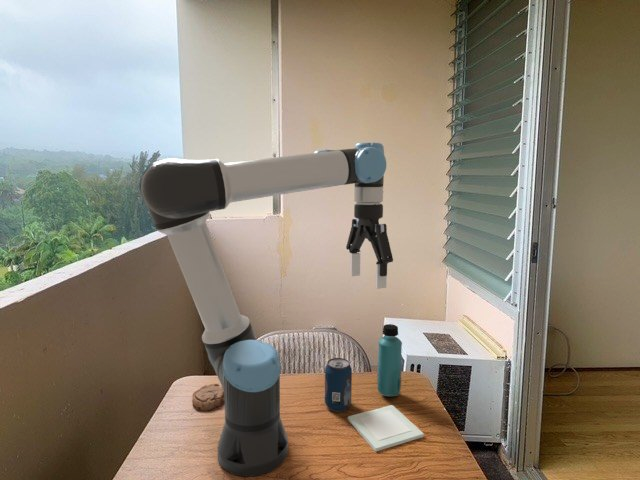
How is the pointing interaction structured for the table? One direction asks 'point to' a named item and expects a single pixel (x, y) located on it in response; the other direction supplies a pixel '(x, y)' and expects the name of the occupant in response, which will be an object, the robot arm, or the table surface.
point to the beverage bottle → (389, 362)
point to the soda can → (338, 384)
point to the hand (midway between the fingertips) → (367, 281)
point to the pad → (385, 427)
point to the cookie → (208, 397)
